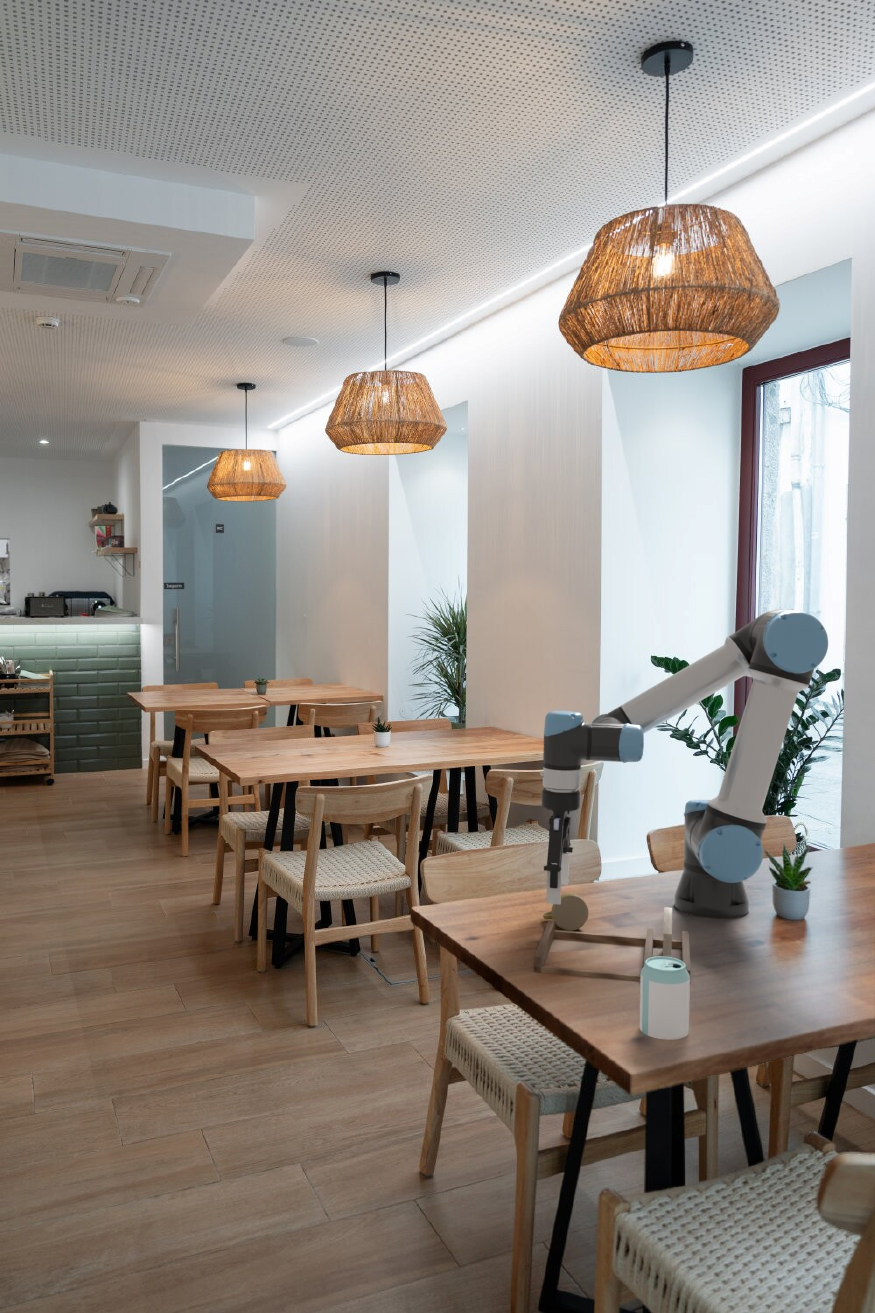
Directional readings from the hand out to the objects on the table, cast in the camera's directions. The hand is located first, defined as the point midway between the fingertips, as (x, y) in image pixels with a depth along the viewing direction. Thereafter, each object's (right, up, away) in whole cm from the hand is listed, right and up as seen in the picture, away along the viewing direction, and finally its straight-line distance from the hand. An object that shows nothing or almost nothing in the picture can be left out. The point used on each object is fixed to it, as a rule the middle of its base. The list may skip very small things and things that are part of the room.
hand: (557, 893), depth 198 cm
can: (+9, -9, -53) cm, 55 cm away
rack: (+7, -7, -22) cm, 24 cm away
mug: (0, -7, +1) cm, 7 cm away
